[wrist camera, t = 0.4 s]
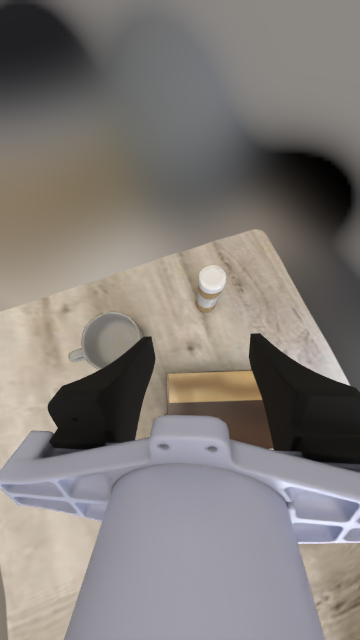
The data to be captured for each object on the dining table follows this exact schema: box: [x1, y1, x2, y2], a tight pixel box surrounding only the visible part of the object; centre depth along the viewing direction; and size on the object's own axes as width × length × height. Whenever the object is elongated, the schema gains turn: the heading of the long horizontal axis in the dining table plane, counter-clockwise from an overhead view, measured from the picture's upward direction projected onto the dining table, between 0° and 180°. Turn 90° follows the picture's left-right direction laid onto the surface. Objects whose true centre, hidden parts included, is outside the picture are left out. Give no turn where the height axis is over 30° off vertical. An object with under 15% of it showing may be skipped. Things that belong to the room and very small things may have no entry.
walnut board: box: [167, 370, 273, 449], centre depth 39 cm, size 14×22×2 cm, turn 92°
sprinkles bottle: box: [196, 265, 226, 312], centre depth 39 cm, size 5×5×14 cm
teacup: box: [69, 311, 143, 370], centre depth 40 cm, size 14×11×8 cm
